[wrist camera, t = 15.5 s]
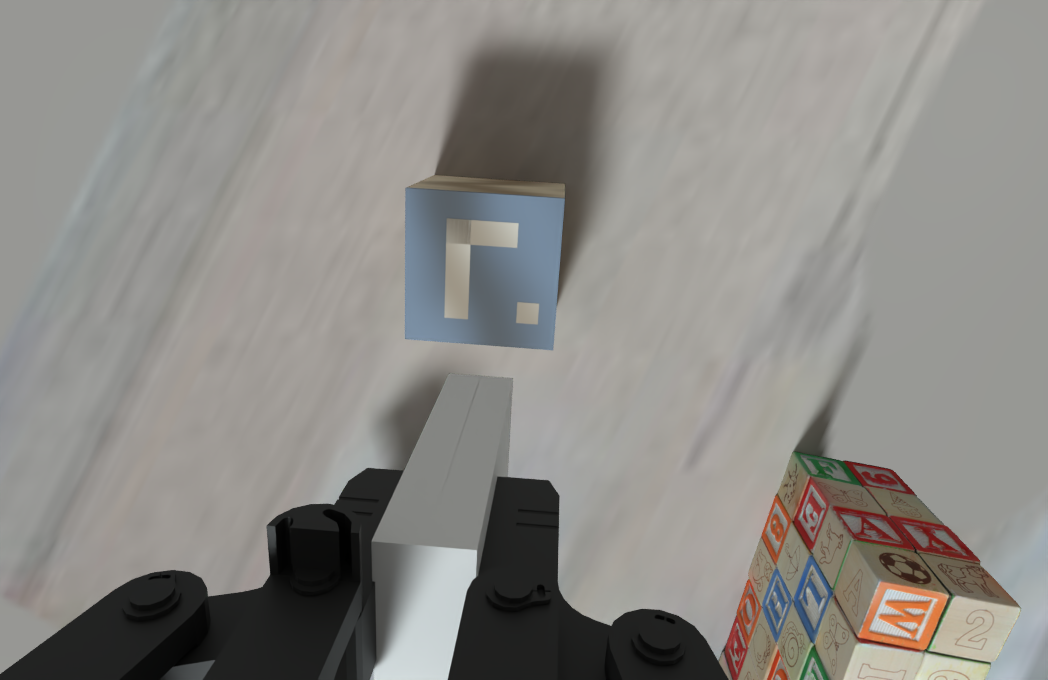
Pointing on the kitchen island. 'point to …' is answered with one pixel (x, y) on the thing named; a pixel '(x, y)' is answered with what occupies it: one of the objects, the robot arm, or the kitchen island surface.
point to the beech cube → (483, 261)
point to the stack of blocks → (863, 586)
